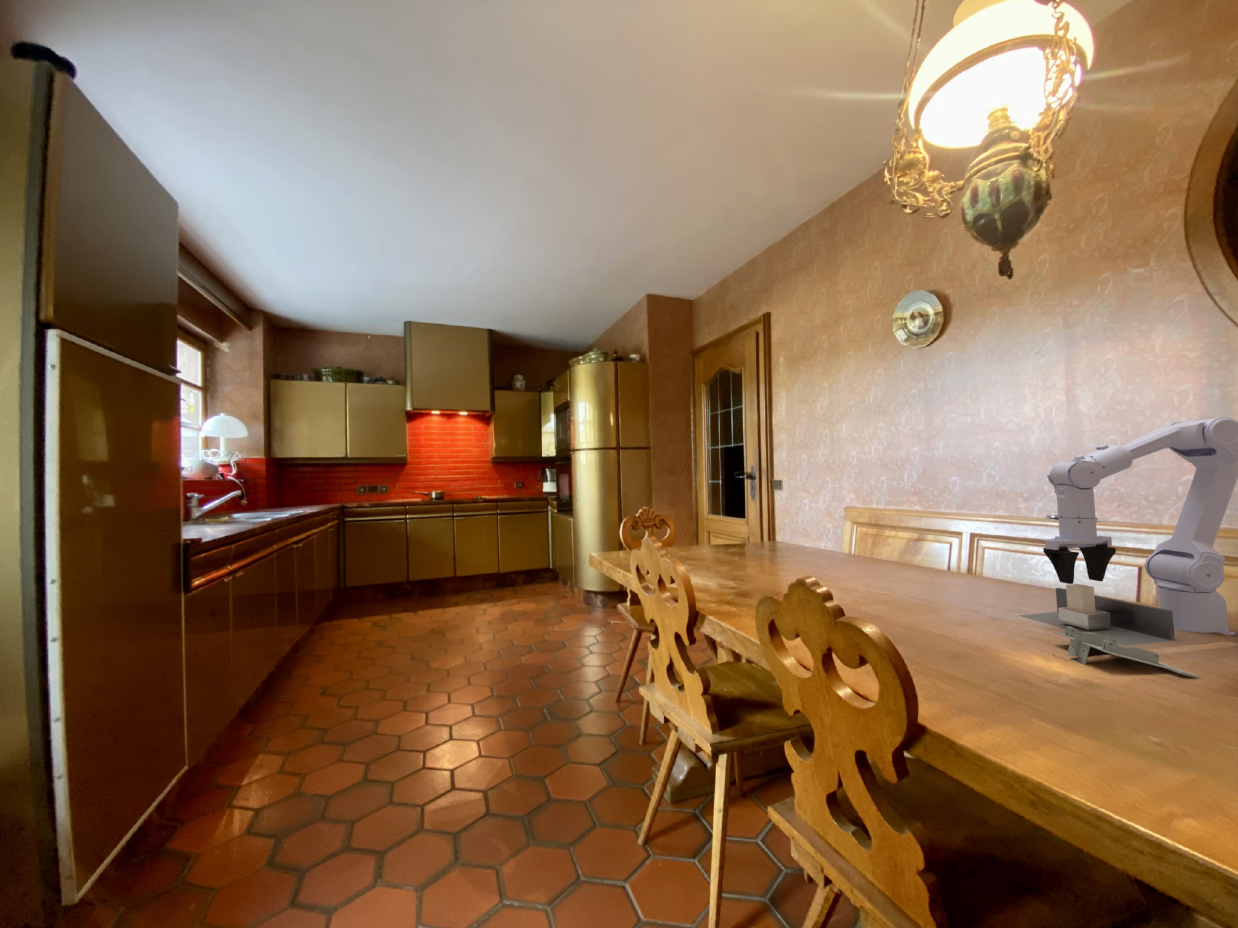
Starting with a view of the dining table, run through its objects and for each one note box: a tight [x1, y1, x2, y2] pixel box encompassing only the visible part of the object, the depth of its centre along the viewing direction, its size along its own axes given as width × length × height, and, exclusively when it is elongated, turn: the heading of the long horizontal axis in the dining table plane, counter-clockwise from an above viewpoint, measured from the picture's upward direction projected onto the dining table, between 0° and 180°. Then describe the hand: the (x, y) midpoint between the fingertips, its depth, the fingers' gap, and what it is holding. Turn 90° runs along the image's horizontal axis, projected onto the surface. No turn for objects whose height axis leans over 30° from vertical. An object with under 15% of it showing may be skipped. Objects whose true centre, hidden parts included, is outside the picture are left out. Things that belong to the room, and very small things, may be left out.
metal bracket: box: [1053, 626, 1200, 679], centre depth 83 cm, size 14×6×15 cm
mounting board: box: [1019, 611, 1177, 646], centre depth 98 cm, size 12×20×1 cm, turn 9°
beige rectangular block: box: [1065, 583, 1096, 614], centre depth 98 cm, size 3×3×8 cm
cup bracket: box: [1055, 587, 1176, 641], centre depth 98 cm, size 10×20×6 cm, turn 9°
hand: (1081, 581), depth 99 cm, fingers open, 7 cm apart
